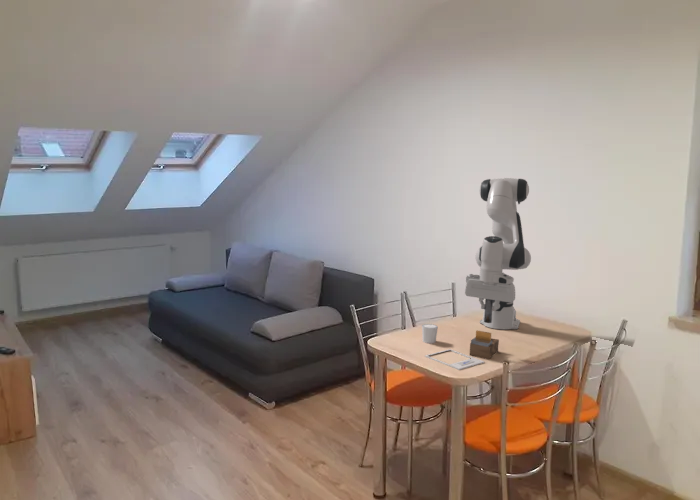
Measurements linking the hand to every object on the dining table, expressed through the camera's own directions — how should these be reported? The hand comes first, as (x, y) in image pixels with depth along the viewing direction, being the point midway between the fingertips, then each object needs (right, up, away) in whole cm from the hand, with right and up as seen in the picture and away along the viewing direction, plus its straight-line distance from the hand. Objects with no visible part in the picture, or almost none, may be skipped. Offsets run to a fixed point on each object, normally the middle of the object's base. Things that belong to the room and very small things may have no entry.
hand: (488, 309), depth 227 cm
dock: (-2, -18, 0) cm, 18 cm away
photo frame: (-16, -20, -8) cm, 26 cm away
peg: (0, -5, +1) cm, 5 cm away
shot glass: (-22, -16, +14) cm, 31 cm away
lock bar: (-4, -13, -4) cm, 14 cm away
